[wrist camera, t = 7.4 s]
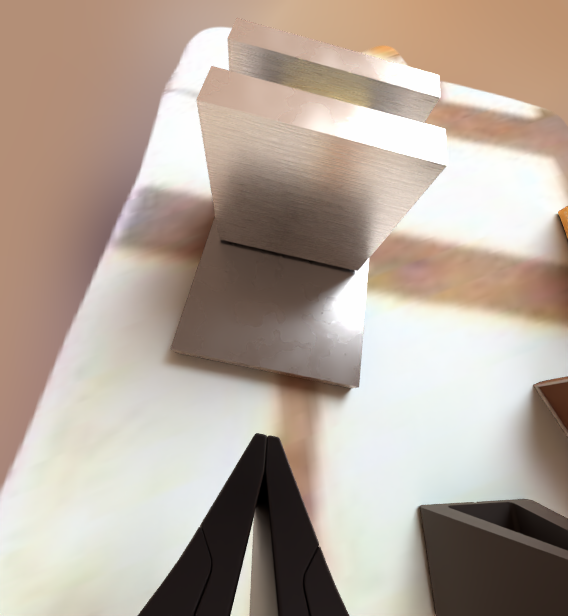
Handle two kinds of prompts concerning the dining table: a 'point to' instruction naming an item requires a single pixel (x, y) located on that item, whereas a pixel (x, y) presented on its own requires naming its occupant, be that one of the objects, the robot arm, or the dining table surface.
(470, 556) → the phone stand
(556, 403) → the brown cake slice
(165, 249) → the dining table surface
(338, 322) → the vise base
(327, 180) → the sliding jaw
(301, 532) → the robot arm
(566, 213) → the small box
